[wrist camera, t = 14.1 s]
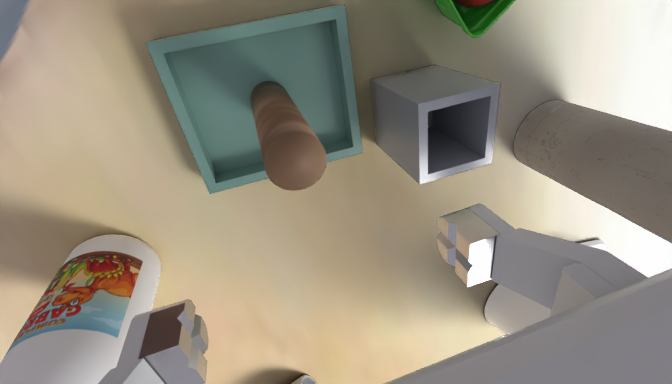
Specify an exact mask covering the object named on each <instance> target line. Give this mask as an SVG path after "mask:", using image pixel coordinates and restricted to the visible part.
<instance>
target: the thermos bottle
mask: <svg viewBox="0 0 672 384" xmlns="http://www.w3.org/2000/svg"><path fill="white" fill-rule="evenodd" d="M514 153H515V156H516V158H517V159H518V160H519V161H520V162H521V163H523V164H524V165H526V166H528V167H530V168H532V169H534V170H535V171H537V172H539V173H541V174H543V175H545V176H547V177H549V178H551V179H553V180H555V181H556V182H558V183H560V184H562V185H564V186H566V187H567V188H569V189H571V190H573V191H575V192H577V193H579V194H581V195H582V196H584V197H586V198H588V199H590V200H592V201H594V202H596V203H598V204H600V205H602V206H604V207H606V208H608V209H610V210H612V211H613V212H615V213H617V214H619V215H621V216H622V217H624V218H626V219H628V220H629V221H631V222H633V223H635V224H637V225H639V226H641V227H642V228H644V229H646V230H648V231H650V232H652V233H654V234H656V235H657V236H659V237H661V238H663V239H665V240H667V241H669V242H671V243H672V131H668V130H664V129H661V128H657V127H653V126H650V125H646V124H642V123H639V122H635V121H632V120H628V119H625V118H621V117H618V116H615V115H611V114H608V113H604V112H600V111H597V110H593V109H590V108H586V107H583V106H579V105H576V104H572V103H569V102H565V101H561V100H552V101H548V102H545V103H543V104H541V105H539V106H538V107H536V108H535V109H534V110H533V111H531V112H530V113H529V114H528V115H527V117H526V118H525V119H524V120H523V122H522V123H521V125H520V127H519V129H518V131H517V133H516V136H515V140H514Z"/></svg>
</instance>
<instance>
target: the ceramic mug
mask: <svg viewBox="0 0 672 384" xmlns="http://www.w3.org/2000/svg"><path fill="white" fill-rule="evenodd" d="M290 384H317V382H316V381H315V380H314V379H313V378H312V377H310V376H309V375H303V376H301V377H300V378H298V379H297V380H295V381H294V382H292V383H290Z"/></svg>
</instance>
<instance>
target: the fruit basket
mask: <svg viewBox="0 0 672 384" xmlns="http://www.w3.org/2000/svg"><path fill="white" fill-rule="evenodd" d="M514 1H515V0H435V3H436V4H437V6H438V8H439V9H440V11H441V13H442V14H443V15H444V16H446V17H447V18H449V19H450V20H452V21H453V22H454V23H456V24H457V25H459V26H460V27H461V28H462V29H463V31H464V32H466V33H467V34H468V35H469V36H471V37H473V38H477V37H479V36H481V35H483V34H484V33H485V32H486V31H487V30H488V29H489V28H490V26H491V25H492V24H493V23H494V22H495V21H496V20H497V19H498V18H499V17H500V16H501V15H502V14H503V13H504V12H505V11H506V10H507V9H508V8H509V6H510V5H511V4H512V3H513V2H514Z"/></svg>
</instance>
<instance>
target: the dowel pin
mask: <svg viewBox="0 0 672 384" xmlns="http://www.w3.org/2000/svg"><path fill="white" fill-rule="evenodd" d="M250 102H251V107H252V112H253V116H254V121H255V125H256V130H257V135H258V139H259V144H260V148H261V153H262V158H263V162H264V167H265V171H266V174H267V176H268V177H269V179H270V180H271V181H272V182H273V183H274V184H275V185H277V186H278V187H280V188H283V189H286V190H301V189H305V188H307V187H309V186H311V185H313V184H314V183H315V182H317V181H318V180H319V179H320V177H321V176H322V174H323V173H324V171H325V168H326V163H327V156H326V151H325V149H324V147H323V145H322V144H321V142H320V141H319V139H318V138H317V136H316V135H315V133H314V132H313V130H312V129H311V127H310V126H309V124H308V123H307V121H306V120H305V118H304V117H303V115H302V114H301V112H300V111H299V109H298V108H297V106H296V105H295V103H294V102H293V100H292V99H291V97H290V96H289V94H288V93H287V91H286V90H285V88H284V87H283V86H282V85H280V84H279V83H277V82H274V81H264V82H261V83H259V84H258V85H257V86H256V87H255V88H254V89H253V91H252V93H251V97H250Z"/></svg>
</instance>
